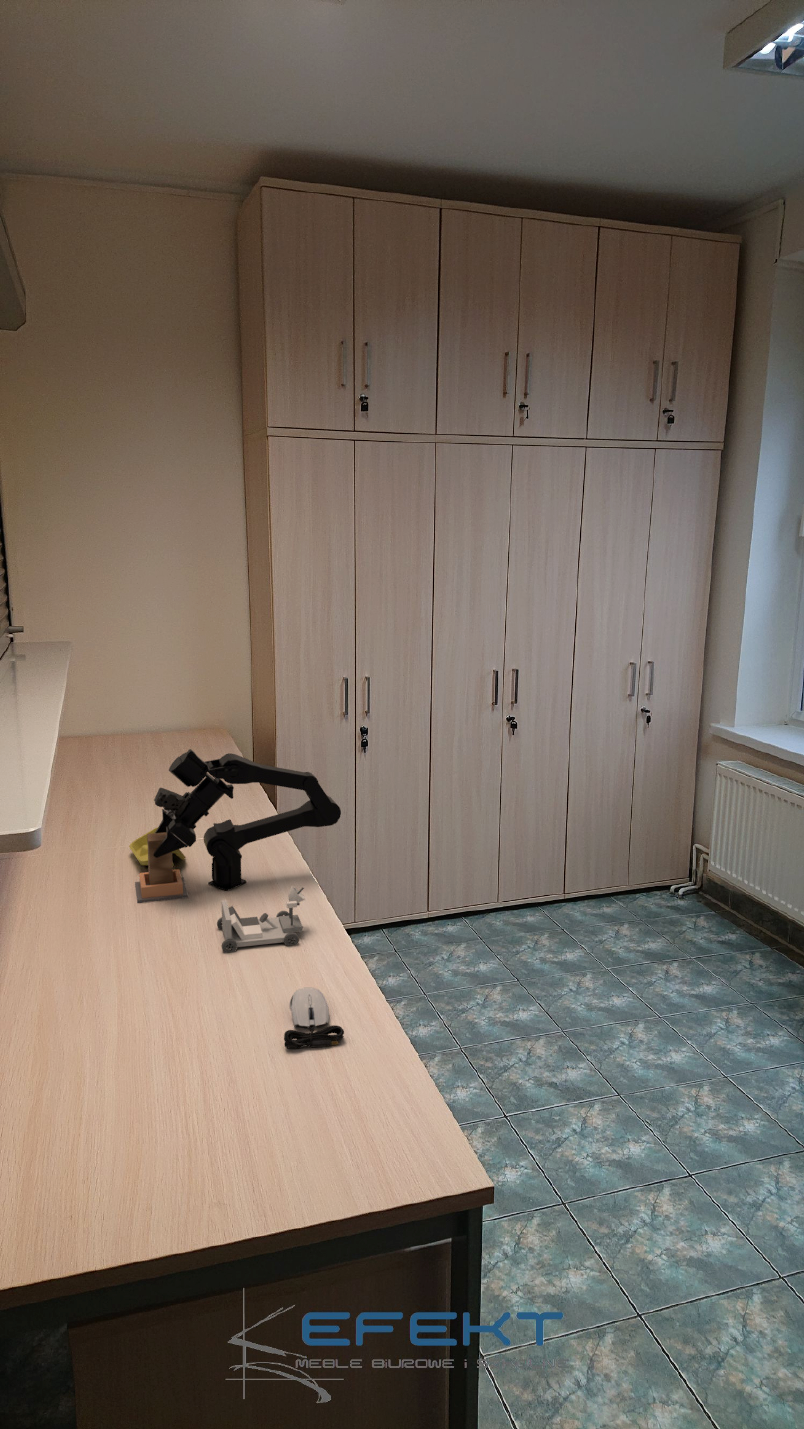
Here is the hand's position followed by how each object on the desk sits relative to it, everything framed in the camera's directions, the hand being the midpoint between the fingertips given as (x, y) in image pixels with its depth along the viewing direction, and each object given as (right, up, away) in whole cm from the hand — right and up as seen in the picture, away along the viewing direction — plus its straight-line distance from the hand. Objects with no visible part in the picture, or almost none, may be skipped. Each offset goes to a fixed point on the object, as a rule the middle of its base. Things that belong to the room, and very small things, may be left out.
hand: (153, 849), depth 211 cm
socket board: (+1, -10, +3) cm, 10 cm away
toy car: (+28, -16, -19) cm, 37 cm away
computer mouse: (+40, -23, -50) cm, 69 cm away
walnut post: (+1, -9, +2) cm, 10 cm away
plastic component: (-4, -7, +20) cm, 21 cm away
